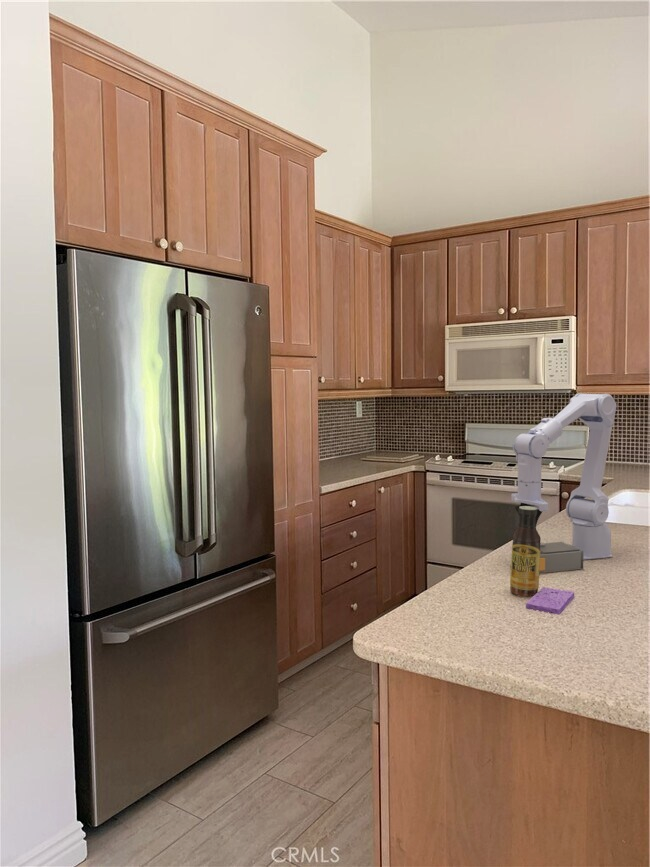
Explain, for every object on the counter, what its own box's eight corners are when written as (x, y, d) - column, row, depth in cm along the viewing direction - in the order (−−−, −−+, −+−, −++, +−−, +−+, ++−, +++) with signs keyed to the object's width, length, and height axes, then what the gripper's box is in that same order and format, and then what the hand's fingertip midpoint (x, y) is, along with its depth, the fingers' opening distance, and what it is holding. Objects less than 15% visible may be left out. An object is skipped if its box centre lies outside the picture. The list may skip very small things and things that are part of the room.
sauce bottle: (507, 595, 148) (507, 508, 146) (513, 587, 153) (513, 503, 152) (537, 599, 145) (538, 511, 143) (542, 591, 150) (543, 505, 149)
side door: (581, 567, 167) (581, 550, 167) (585, 569, 166) (585, 552, 165) (534, 572, 164) (534, 554, 164) (537, 573, 163) (537, 556, 162)
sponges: (574, 599, 146) (574, 591, 146) (559, 617, 136) (559, 608, 136) (542, 594, 150) (542, 586, 150) (525, 610, 140) (525, 602, 140)
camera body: (561, 560, 175) (561, 539, 174) (579, 568, 167) (579, 547, 167) (525, 563, 172) (525, 542, 172) (542, 572, 165) (542, 550, 164)
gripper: (500, 477, 172) (500, 528, 174) (530, 486, 158) (529, 541, 159) (525, 476, 174) (524, 526, 175) (556, 484, 160) (555, 539, 161)
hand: (528, 533), depth 167 cm, fingers closed
